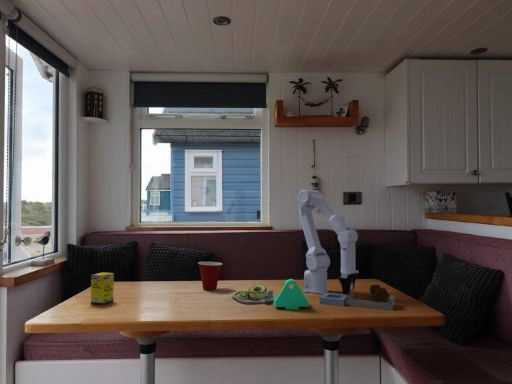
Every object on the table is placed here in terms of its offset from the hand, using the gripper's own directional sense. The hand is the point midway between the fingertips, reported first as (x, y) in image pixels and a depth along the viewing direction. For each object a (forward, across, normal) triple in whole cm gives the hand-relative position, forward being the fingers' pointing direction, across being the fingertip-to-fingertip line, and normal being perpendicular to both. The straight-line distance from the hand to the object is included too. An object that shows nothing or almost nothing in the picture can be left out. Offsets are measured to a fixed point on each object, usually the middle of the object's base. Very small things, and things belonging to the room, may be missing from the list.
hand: (348, 293), depth 156 cm
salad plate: (+2, -18, +33) cm, 38 cm away
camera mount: (+2, -24, +16) cm, 28 cm away
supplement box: (+2, -50, +82) cm, 96 cm away
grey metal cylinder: (+2, 0, 0) cm, 2 cm away
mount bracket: (+2, -8, -10) cm, 13 cm away
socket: (+2, -10, +3) cm, 11 cm away
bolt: (+2, +6, -10) cm, 12 cm away
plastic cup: (+2, -12, +58) cm, 59 cm away
